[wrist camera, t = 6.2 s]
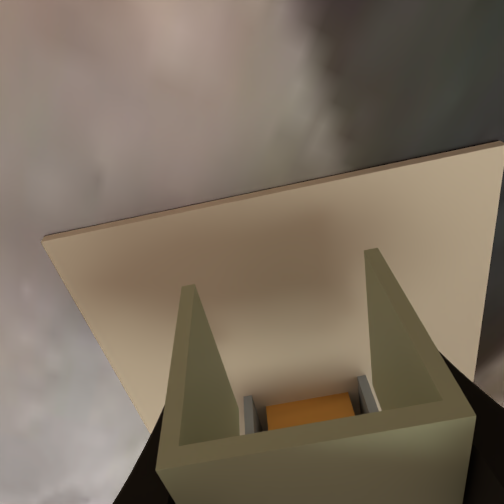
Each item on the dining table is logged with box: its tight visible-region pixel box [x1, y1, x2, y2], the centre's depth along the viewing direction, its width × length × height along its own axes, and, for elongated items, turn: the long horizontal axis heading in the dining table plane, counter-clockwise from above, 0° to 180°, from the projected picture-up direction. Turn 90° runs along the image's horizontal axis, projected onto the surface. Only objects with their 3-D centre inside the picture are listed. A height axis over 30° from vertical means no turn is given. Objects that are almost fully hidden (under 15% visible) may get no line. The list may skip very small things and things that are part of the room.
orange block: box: [266, 392, 355, 431], centre depth 19 cm, size 4×4×4 cm
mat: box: [41, 141, 504, 435], centre depth 19 cm, size 18×16×1 cm
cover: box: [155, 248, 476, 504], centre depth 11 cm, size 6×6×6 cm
